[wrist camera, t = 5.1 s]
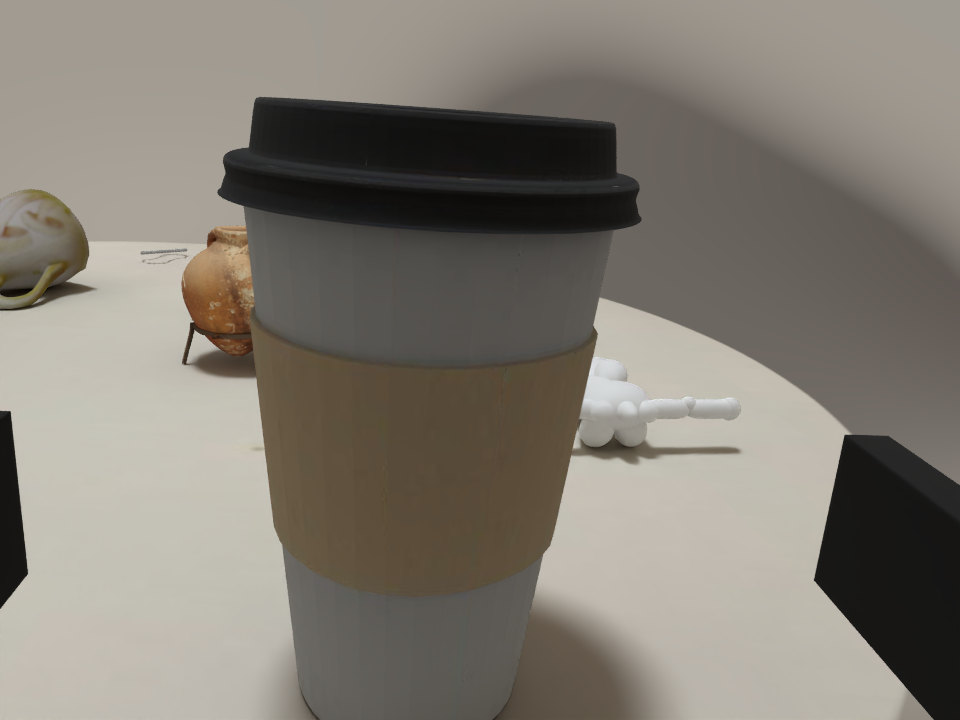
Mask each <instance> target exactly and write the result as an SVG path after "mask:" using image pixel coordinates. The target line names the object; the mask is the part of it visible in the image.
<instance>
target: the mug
mask: <svg viewBox="0 0 960 720" xmlns="http://www.w3.org/2000/svg"><path fill="white" fill-rule="evenodd" d="M88 257H89V246H88V241H87V238H86V235H85V232H84V230H83V227H82V225H81V224H80V222H79V221H78V219H77V218H76V216H75V215H74V214H73V213H72V212H71V210H70V209H69V208H68V207H67V206H66V205H65V204H64V203H62V202H61V201H60V200H59V199H58V198H56V197H55V196H53V195H51V194H50V193H48V192H45V191H42V190H34V189H33V190H32V189H30V190H22V191H17V192H14V193H11V194H9V195H7V196H5V197H3V198H1V199H0V290H7V289H32V288H34V289H33V290H32V291H31V292H29V293H28V294H25V295H23V296H18V297H5V296H2V295H1V294H0V308H1V309H12V308H20V307H26V306H29V305H31V304H33V303H34V302H36V301H37V300H38V299H39V298H40V297H41V296H42V295H43V293H44V292H45V290H46V289H47V288H48V287H50V286H54V285H57V284H60V283H63V282H65V281H67V280H69V279H70V278H72V277H73V276H74V275H76V274H77V273H78V272H80V271H82V270H84V269H85V268H86V264H87V260H88Z"/></svg>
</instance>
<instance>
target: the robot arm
mask: <svg viewBox="0 0 960 720" xmlns="http://www.w3.org/2000/svg"><path fill="white" fill-rule="evenodd" d="M27 574H28V569H27V559H26V550H25V541H24V532H23V522H22V513H21V504H20V495H19V485H18V476H17V467H16V458H15V448H14V439H13V430H12V421H11V411H0V609H1V607H2V606H3V605H4V604H5V602H6V601H7V600H8V598H9V597H10V596H11V595H12V593H13V592H14V591H15V590H16V588H17V587H18V586H19V585H20V583H21V582H22V581H23V579H24V578H25V577H26V576H27ZM814 581H815V582H816V583H817V584H818V586H819V587H820V588H821V589H822V590H823V591H824V593H825V594H826V595H827V596H828V597H829V598H830V599H831V601H832V602H833V603H834V604H835V605H836V606H837V608H838V609H839V610H840V611H841V612H842V613H843V615H844V616H845V617H846V618H847V619H848V620H849V622H850V623H851V624H852V625H853V626H854V627H855V629H856V630H857V631H858V632H859V633H860V634H861V636H862V637H863V638H864V639H865V640H866V641H867V643H868V644H869V645H870V646H871V647H872V648H873V650H874V651H875V652H876V653H877V654H878V655H879V657H880V658H881V659H882V660H883V661H884V662H885V663H886V665H887V666H888V667H889V668H890V669H891V670H892V672H893V673H894V674H895V675H896V676H897V677H898V679H899V680H900V681H901V682H902V683H903V684H904V686H905V687H906V688H907V689H908V690H909V691H910V693H911V694H912V695H913V696H914V697H915V698H916V700H917V701H918V702H919V703H920V704H921V705H922V707H923V708H924V709H925V710H926V711H927V712H928V714H929V715H930V716H931V717H932V718H933V719H934V720H960V485H959V484H957V483H956V482H954V481H953V480H951V479H950V478H948V477H947V476H945V475H944V474H943V473H941V472H940V471H938V470H937V469H935V468H934V467H932V466H931V465H929V464H928V463H927V462H925V461H924V460H922V459H921V458H919V457H918V456H917V455H915V454H914V453H912V452H911V451H909V450H908V449H906V448H905V447H903V446H902V445H901V444H899V443H898V442H896V441H895V440H893V439H892V438H890V437H889V436H872V435H871V436H869V435H845V436H844V440H843V445H842V450H841V455H840V459H839V464H838V469H837V474H836V478H835V483H834V488H833V492H832V497H831V502H830V507H829V511H828V516H827V521H826V526H825V530H824V535H823V540H822V545H821V549H820V554H819V559H818V563H817V568H816V573H815V578H814Z"/></svg>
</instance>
